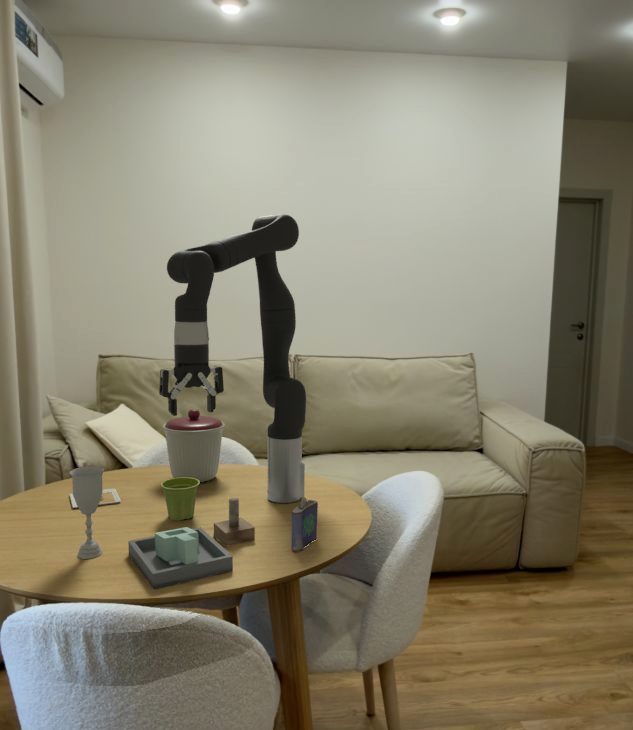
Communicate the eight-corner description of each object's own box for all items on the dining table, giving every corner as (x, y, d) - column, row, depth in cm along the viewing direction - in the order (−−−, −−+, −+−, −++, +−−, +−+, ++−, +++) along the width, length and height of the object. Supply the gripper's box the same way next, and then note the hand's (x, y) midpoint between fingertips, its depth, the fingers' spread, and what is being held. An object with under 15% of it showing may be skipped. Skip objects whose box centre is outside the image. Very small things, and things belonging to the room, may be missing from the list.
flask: (298, 553, 134) (299, 504, 132) (287, 550, 135) (287, 502, 134) (319, 539, 142) (320, 493, 140) (308, 536, 143) (308, 491, 142)
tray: (200, 540, 140) (200, 527, 140) (232, 570, 125) (232, 556, 124) (128, 554, 132) (128, 541, 132) (153, 589, 117) (153, 574, 116)
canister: (163, 472, 193) (162, 404, 191) (222, 468, 197) (221, 403, 195) (163, 489, 176) (162, 416, 173) (228, 485, 180) (227, 413, 178)
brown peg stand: (241, 530, 146) (241, 492, 145) (254, 540, 140) (254, 501, 139) (213, 535, 143) (213, 497, 142) (225, 546, 137) (225, 506, 136)
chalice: (78, 547, 136) (75, 466, 133) (110, 546, 136) (108, 466, 134) (68, 561, 128) (64, 476, 126) (101, 560, 129) (99, 475, 127)
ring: (188, 548, 134) (186, 527, 134) (209, 559, 123) (207, 536, 123) (156, 554, 130) (154, 533, 130) (174, 566, 119) (172, 543, 119)
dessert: (121, 505, 164) (121, 487, 163) (72, 511, 159) (72, 493, 158) (115, 492, 175) (114, 475, 174) (69, 497, 170) (68, 480, 169)
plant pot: (191, 525, 149) (190, 489, 148) (154, 521, 151) (154, 487, 150) (206, 511, 158) (205, 478, 157) (171, 508, 160) (170, 476, 159)
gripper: (215, 339, 146) (215, 408, 148) (154, 341, 138) (156, 413, 140) (227, 342, 139) (228, 413, 141) (165, 344, 132) (166, 419, 134)
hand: (192, 413), depth 141 cm, fingers open, 8 cm apart
